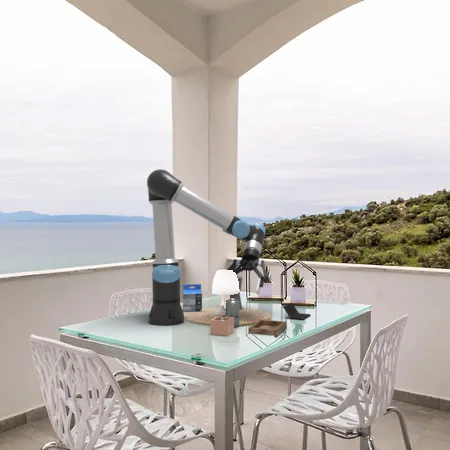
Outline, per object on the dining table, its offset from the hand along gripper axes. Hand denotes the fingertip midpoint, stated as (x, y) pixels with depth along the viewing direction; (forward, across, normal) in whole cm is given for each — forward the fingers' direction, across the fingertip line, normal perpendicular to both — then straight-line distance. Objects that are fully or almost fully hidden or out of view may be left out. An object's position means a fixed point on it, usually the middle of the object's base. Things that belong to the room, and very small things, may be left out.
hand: (241, 292), depth 216 cm
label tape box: (-2, +30, -21) cm, 37 cm away
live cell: (+16, +1, -2) cm, 16 cm away
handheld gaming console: (-4, -19, -23) cm, 31 cm away
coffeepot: (-12, +14, -30) cm, 36 cm away
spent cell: (+24, +1, +6) cm, 25 cm away
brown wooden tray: (+17, -14, -2) cm, 22 cm away
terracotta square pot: (+24, +1, +6) cm, 25 cm away
